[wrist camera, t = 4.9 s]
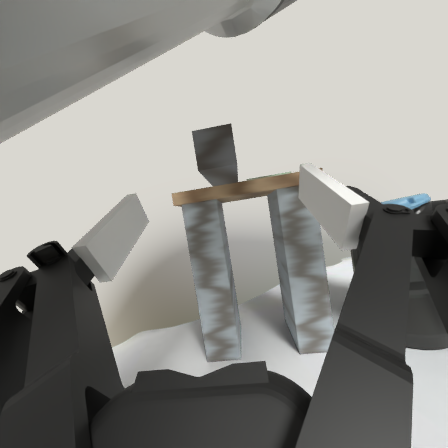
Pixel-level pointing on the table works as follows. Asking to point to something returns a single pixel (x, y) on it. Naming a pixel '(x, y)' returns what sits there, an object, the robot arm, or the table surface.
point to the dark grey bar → (216, 154)
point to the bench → (286, 261)
